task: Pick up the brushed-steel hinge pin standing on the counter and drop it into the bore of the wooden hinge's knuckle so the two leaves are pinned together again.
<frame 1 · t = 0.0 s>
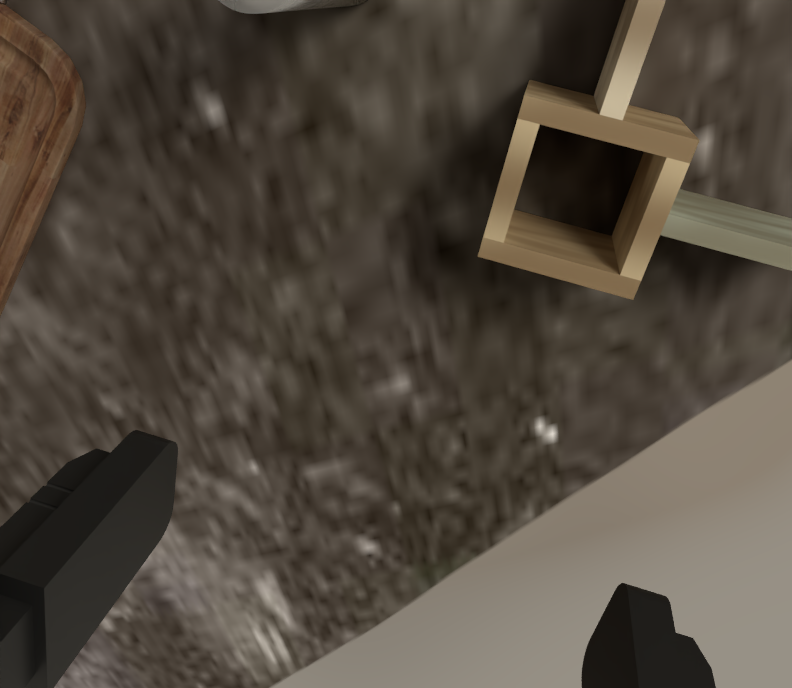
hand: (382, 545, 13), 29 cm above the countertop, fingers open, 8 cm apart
hinge: (578, 172, 37), on the countertop
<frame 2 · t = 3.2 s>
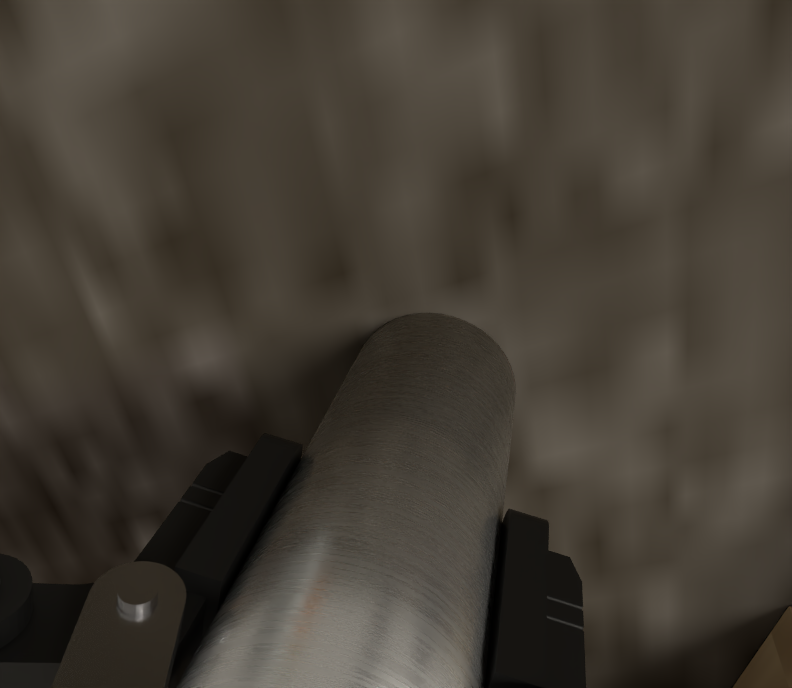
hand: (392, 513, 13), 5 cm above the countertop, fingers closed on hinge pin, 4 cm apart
hinge pin: (433, 388, 17), on the countertop, touching gripper
when the fingers open (8 cm above the countertop, at t = 9.1 s): hinge pin drops 3 cm, resting in hinge.
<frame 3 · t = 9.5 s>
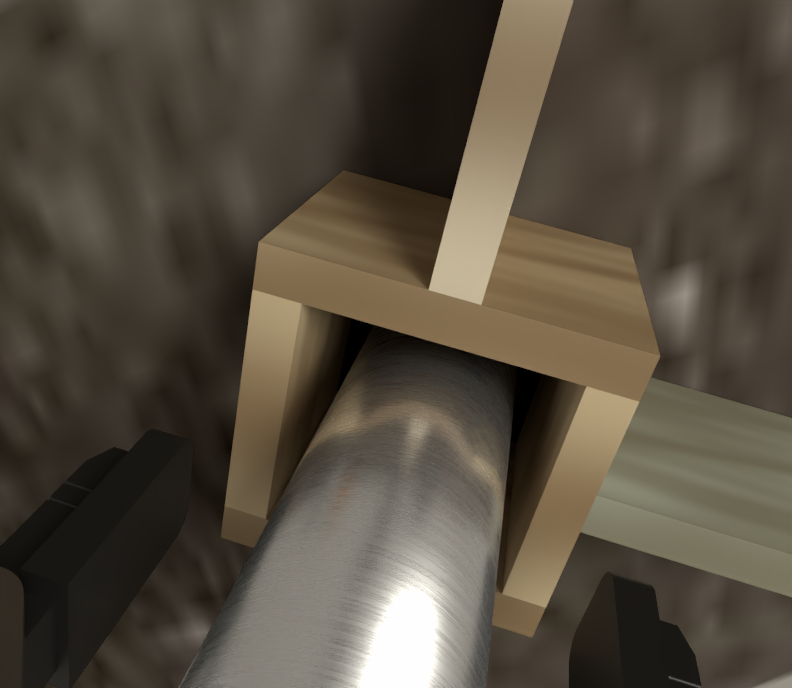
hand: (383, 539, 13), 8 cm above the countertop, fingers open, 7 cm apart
hinge pin: (448, 336, 20), resting in hinge
hinge: (448, 336, 20), on the countertop
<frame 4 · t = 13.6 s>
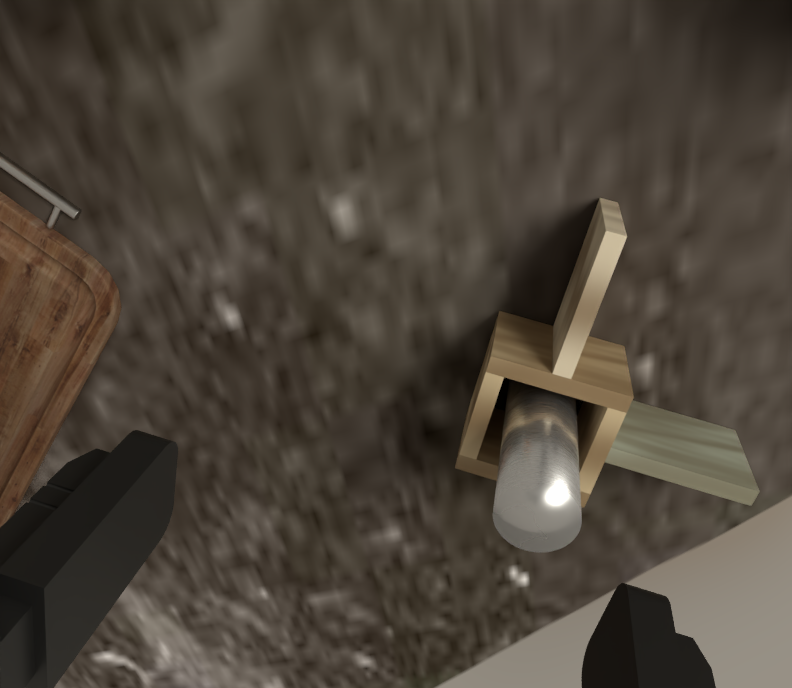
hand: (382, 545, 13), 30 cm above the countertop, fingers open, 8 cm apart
hinge pin: (541, 381, 44), resting in hinge
hinge: (541, 381, 44), on the countertop
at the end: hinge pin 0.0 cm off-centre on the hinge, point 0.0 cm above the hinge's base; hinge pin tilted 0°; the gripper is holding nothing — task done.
